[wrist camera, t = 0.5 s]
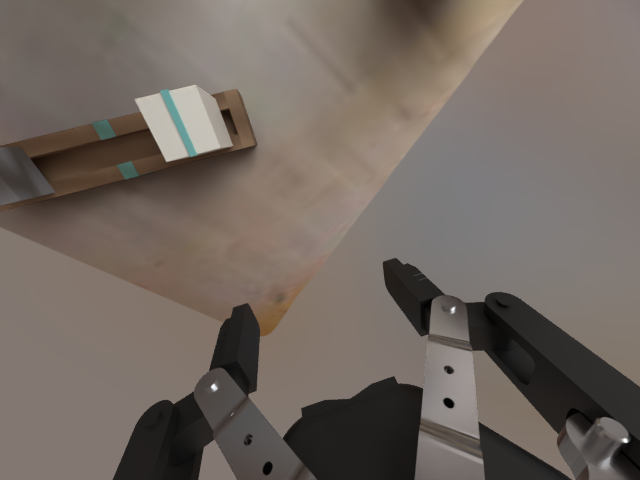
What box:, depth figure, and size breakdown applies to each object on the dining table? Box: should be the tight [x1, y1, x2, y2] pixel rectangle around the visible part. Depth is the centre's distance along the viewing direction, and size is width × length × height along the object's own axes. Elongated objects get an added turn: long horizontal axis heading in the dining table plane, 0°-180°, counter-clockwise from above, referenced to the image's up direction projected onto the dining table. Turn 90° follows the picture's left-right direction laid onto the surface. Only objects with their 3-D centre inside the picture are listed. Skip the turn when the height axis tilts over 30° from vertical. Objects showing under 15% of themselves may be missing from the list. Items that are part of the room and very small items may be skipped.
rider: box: [135, 85, 233, 162], centre depth 24 cm, size 5×5×9 cm
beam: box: [0, 89, 257, 212], centre depth 26 cm, size 6×30×8 cm, turn 103°
